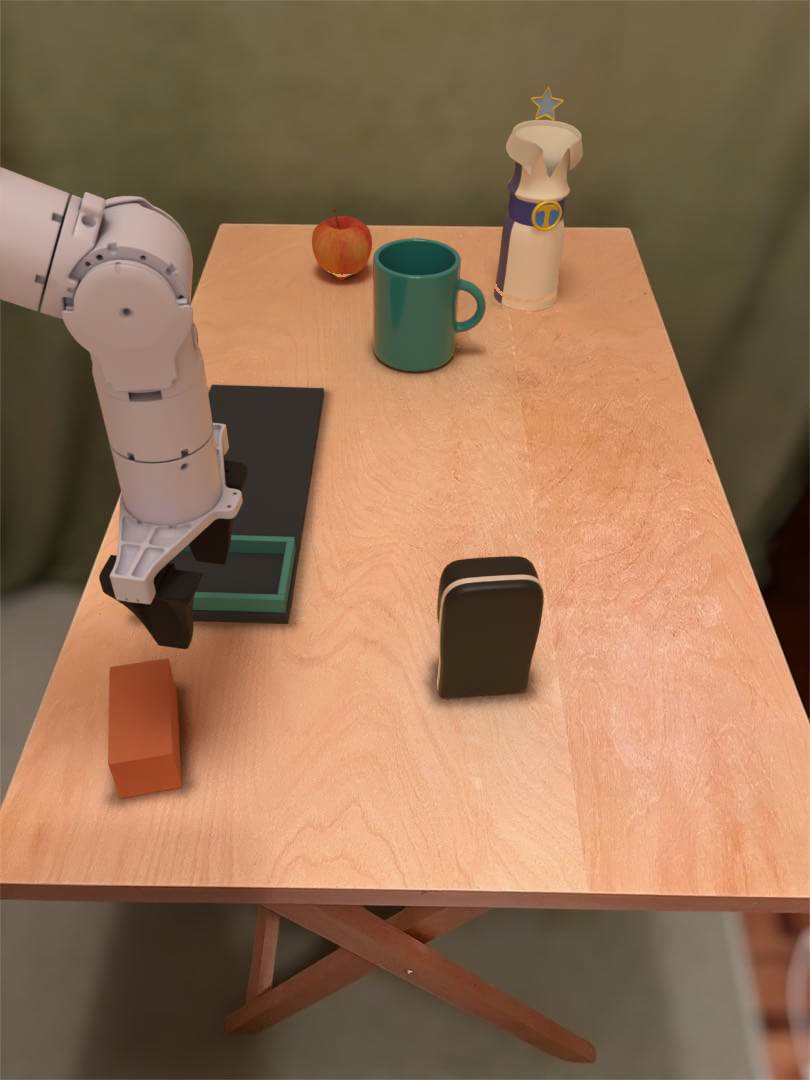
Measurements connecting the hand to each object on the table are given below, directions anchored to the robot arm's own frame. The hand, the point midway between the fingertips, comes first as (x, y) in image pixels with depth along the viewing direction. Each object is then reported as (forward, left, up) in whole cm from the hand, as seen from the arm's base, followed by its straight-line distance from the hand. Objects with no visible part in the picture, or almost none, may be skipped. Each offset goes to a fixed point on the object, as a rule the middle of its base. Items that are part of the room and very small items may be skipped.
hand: (194, 599), depth 60 cm
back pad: (+5, +22, -10) cm, 24 cm away
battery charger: (+20, -3, -10) cm, 22 cm away
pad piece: (-4, -4, -10) cm, 11 cm away
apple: (+21, +62, -10) cm, 66 cm away
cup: (+27, +42, -10) cm, 51 cm away
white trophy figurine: (+42, +53, -10) cm, 68 cm away
